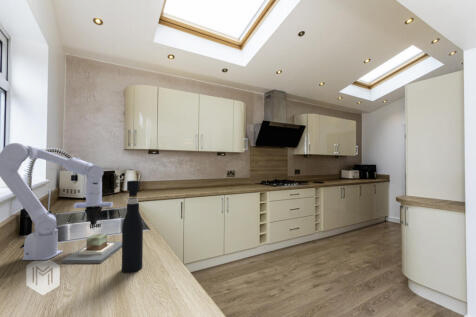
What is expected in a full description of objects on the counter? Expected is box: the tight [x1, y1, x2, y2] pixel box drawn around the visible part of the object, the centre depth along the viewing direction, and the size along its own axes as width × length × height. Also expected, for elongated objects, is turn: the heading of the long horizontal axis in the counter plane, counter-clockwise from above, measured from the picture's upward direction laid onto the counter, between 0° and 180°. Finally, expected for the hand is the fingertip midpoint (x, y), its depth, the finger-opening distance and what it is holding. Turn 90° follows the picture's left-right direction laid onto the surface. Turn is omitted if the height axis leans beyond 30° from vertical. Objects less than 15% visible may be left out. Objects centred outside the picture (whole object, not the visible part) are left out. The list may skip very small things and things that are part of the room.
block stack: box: [86, 233, 108, 251], centre depth 89 cm, size 5×5×6 cm
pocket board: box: [61, 241, 122, 264], centre depth 89 cm, size 14×18×2 cm
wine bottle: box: [121, 180, 144, 274], centre depth 76 cm, size 6×6×30 cm
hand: (93, 224), depth 96 cm, fingers closed
